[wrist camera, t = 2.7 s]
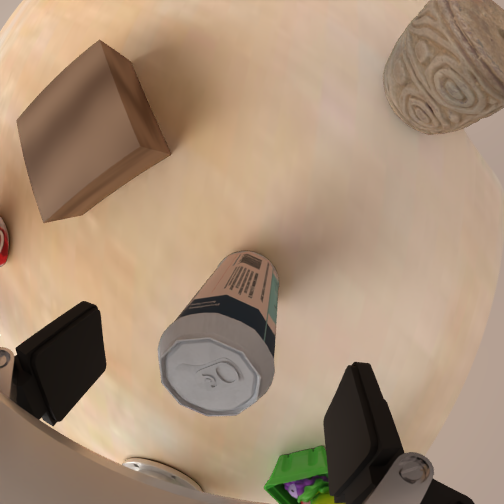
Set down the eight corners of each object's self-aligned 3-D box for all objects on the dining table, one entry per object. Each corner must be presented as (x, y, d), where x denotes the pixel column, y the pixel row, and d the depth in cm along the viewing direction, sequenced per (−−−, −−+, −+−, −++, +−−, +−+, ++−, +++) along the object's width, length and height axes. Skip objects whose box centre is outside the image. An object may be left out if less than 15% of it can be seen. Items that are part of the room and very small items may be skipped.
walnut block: (171, 154, 20) (140, 146, 15) (81, 215, 22) (43, 223, 17) (130, 61, 18) (99, 39, 13) (52, 126, 20) (16, 120, 15)
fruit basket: (263, 451, 26) (254, 534, 15) (341, 431, 24) (355, 519, 13) (296, 490, 27) (294, 556, 16) (360, 475, 26) (370, 542, 15)
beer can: (203, 268, 21) (125, 350, 10) (258, 237, 20) (227, 302, 9) (236, 319, 22) (195, 433, 10) (290, 292, 21) (295, 403, 9)
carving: (423, 52, 15) (498, -14, 4) (455, 134, 17) (561, 111, 5) (359, 56, 16) (416, -38, 5) (394, 145, 18) (499, 111, 6)
